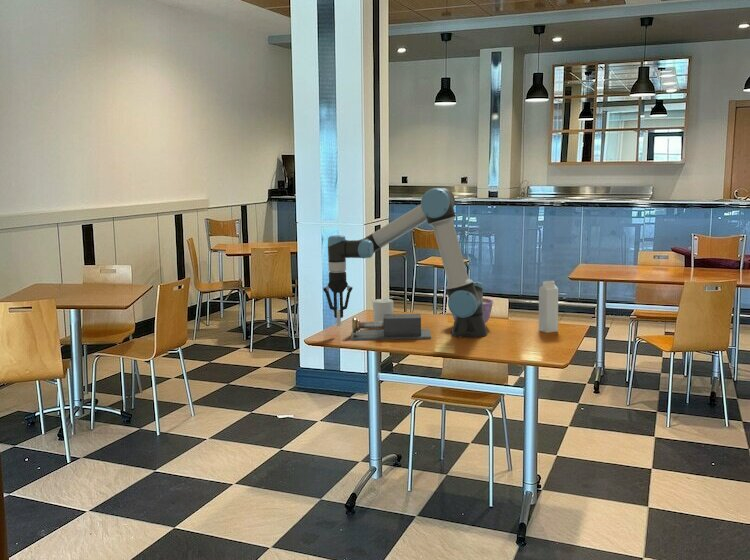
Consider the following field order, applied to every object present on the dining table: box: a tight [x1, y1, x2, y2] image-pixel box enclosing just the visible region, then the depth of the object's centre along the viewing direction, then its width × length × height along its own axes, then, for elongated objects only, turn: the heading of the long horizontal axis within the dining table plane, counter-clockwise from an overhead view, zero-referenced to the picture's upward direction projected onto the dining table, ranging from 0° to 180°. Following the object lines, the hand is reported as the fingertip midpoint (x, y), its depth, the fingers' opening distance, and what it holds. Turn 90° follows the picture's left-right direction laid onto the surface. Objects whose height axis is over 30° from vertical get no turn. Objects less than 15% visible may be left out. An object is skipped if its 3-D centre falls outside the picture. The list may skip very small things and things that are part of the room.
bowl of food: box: [451, 297, 494, 324], centre depth 333 cm, size 20×20×12 cm
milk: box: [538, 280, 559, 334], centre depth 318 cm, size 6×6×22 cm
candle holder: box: [371, 298, 394, 322], centre depth 338 cm, size 10×10×12 cm
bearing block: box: [350, 313, 432, 341], centre depth 318 cm, size 34×16×8 cm, turn 88°
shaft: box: [351, 317, 384, 333], centre depth 318 cm, size 22×7×7 cm, turn 88°
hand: (339, 325), depth 319 cm, fingers closed
